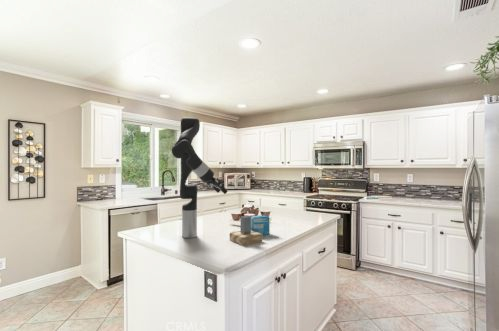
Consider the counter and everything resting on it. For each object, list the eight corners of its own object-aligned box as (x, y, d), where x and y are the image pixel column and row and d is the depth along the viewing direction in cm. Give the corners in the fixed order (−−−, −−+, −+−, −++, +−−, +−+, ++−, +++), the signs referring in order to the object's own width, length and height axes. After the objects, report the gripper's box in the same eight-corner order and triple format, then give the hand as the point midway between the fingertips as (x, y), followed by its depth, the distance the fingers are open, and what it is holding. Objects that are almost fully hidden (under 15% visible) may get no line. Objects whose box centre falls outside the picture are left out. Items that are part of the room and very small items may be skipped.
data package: (252, 236, 172) (252, 217, 172) (250, 234, 176) (250, 216, 176) (269, 234, 176) (269, 216, 176) (267, 232, 180) (267, 215, 180)
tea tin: (240, 232, 161) (240, 216, 161) (246, 231, 164) (246, 215, 163) (244, 234, 157) (244, 217, 157) (250, 233, 160) (250, 217, 160)
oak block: (229, 241, 162) (229, 232, 162) (248, 237, 170) (248, 229, 170) (243, 246, 151) (243, 237, 151) (262, 242, 159) (262, 233, 159)
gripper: (213, 166, 137) (233, 188, 143) (202, 166, 149) (221, 186, 155) (203, 177, 134) (224, 198, 140) (193, 176, 146) (212, 196, 152)
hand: (222, 192), depth 148 cm, fingers open, 8 cm apart
